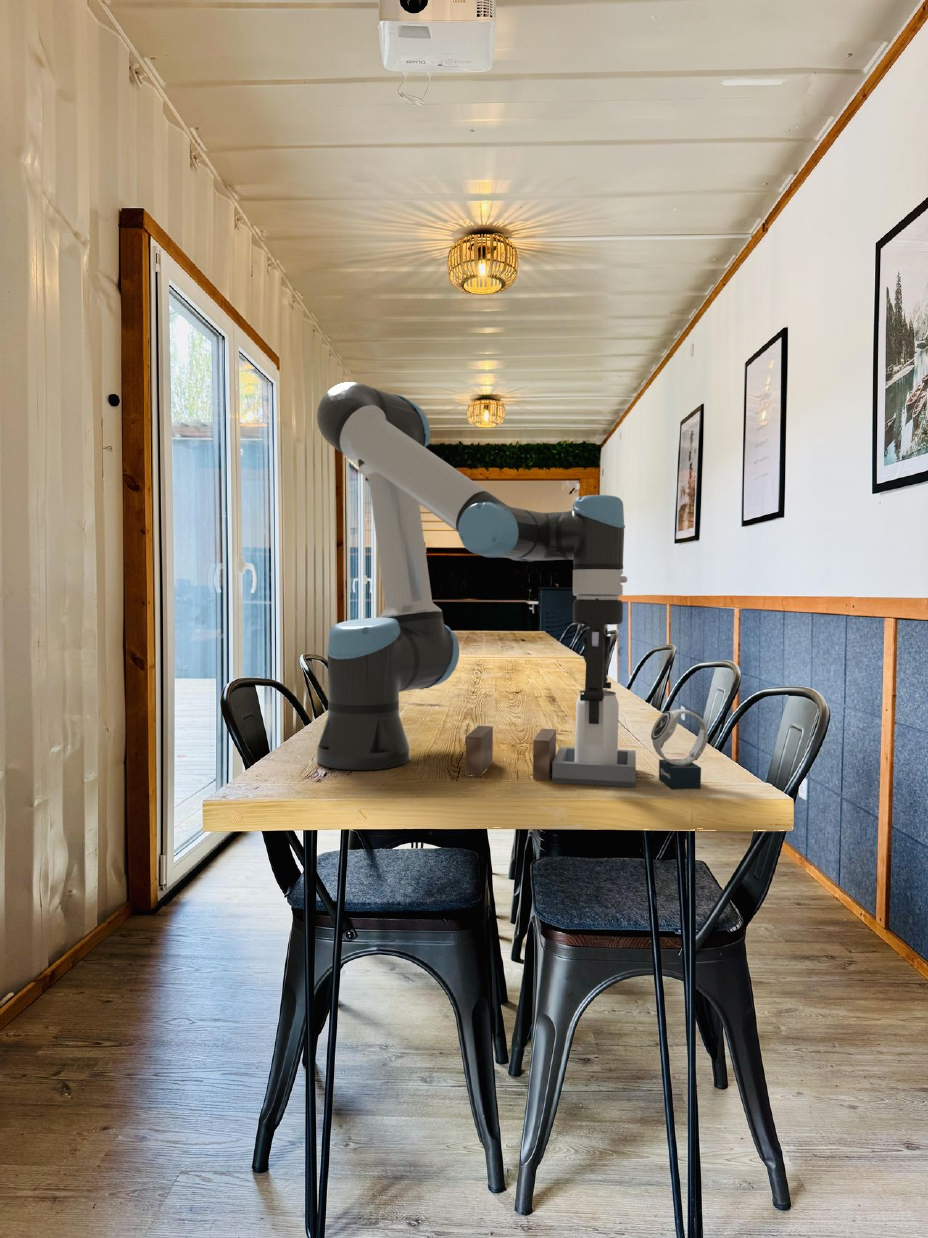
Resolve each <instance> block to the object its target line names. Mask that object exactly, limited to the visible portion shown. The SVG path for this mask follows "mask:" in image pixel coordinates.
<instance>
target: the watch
mask: <svg viewBox="0 0 928 1238" xmlns="http://www.w3.org/2000/svg"><path fill="white" fill-rule="evenodd" d="M683 714H685V715H691V716H692V717H694V718H695V720H696V721H697V722H698V725H699V727H700V729H699V732H698V734H697V737H696V740H695V743H694V744H693V746H692V747H691V750H690V751H689V752H688V756H686V757H684V758H680V759H677V758H674V759H671V758H670V759H669V758H667V757H666V755H665V754H664V752H662V749H663V747H664V746H665V743H666V742H667V741H669V739H670V738H671V737H672V736H673V734H674V733H675V731H676V728H677V725H678V720H679V719H680V718H681V716H682V715H683ZM708 731H709V730H708V726H707V724H706V722H705V721H704V719H703V718H702V717H701V716H700V715H698V714H696V713H694V712H693V711H690V710H688V709H683V708H679V709H678V708H676V709H671V710H670V711H669V710H668V711H667V710H666V711H665V712H663V713H662V714H661V715H660V716H659V717H658V718H657V719H656V721H655V723H654V725H653V727H652V730H651V734H650V738H651V739H650V740H652V745H653V748H654V751H655V752H656V754H657V755H658V756H659V757H660V758H662V759H659V760H658V781H659V780H660V781H659V782H661V783H662V782H663V783H664V784H663V783H662V784H663V785H665V786H666V787H668V788H669V789H670V790H701V788H702V787H701V786H702V784H701V783H702V780H701V779H702V767H701V766H699V765H697V764H696V763H694V762H695V761H698V760H699V758H700V757H701V755H702V753H703V752H704V750H705V749H706V747H707V743H708V741H709V737H708V736H709V734H708V733H709V732H708Z"/></svg>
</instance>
